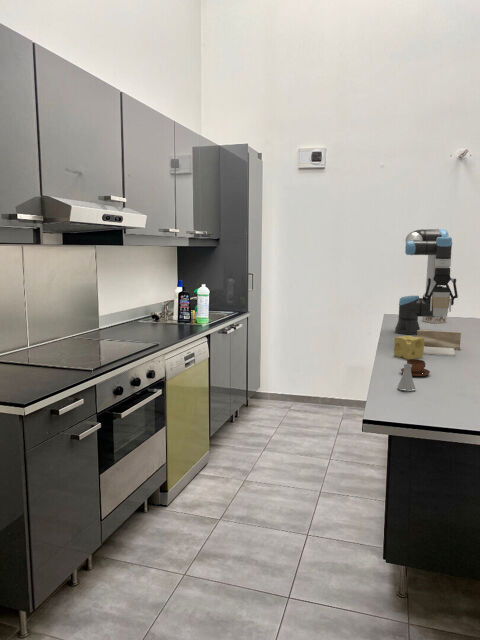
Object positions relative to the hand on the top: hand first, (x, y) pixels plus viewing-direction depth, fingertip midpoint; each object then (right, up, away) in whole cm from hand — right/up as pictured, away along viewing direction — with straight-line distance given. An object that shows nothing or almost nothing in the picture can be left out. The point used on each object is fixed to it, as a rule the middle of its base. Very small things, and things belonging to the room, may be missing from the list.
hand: (440, 311), depth 273 cm
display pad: (0, -21, +3) cm, 21 cm away
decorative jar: (+35, -6, +102) cm, 108 cm away
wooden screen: (+4, -20, +13) cm, 24 cm away
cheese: (-19, -23, -8) cm, 32 cm away
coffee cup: (0, -3, 0) cm, 3 cm away
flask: (-39, -32, -67) cm, 83 cm away
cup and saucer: (-28, -29, -43) cm, 59 cm away
